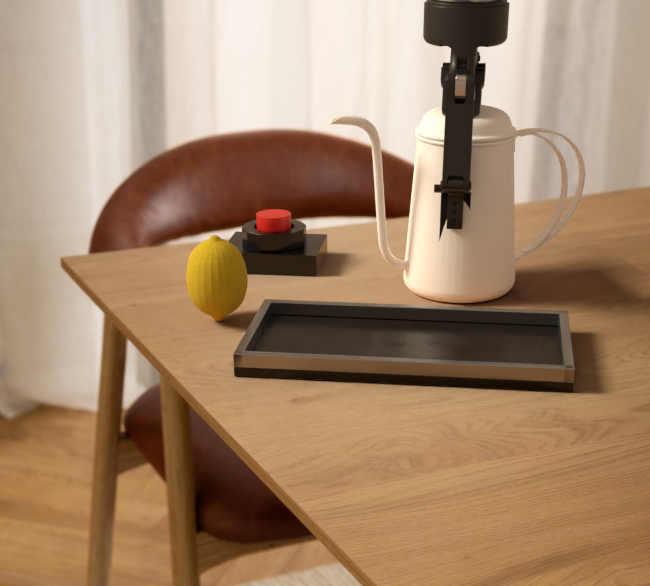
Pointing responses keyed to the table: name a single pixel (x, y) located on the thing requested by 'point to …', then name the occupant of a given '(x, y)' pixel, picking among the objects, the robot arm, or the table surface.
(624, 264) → the table surface
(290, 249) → the button box
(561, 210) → the coffeepot
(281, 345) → the drip pan
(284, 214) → the button
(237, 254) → the lemon
